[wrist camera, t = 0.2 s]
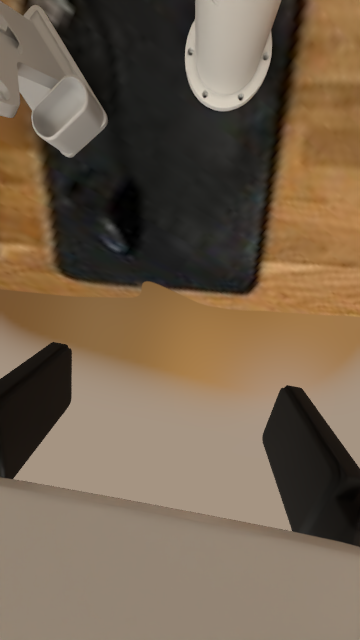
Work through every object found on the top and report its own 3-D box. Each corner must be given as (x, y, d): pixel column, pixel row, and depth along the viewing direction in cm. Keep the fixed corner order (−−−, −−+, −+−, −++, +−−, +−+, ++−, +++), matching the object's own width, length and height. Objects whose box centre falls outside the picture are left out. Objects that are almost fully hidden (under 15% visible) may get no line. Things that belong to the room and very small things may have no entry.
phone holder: (112, 124, 37) (43, 27, 20) (68, 163, 40) (-26, 107, 23) (40, 4, 33) (-123, -243, 16) (-5, 57, 35) (-187, -111, 19)
